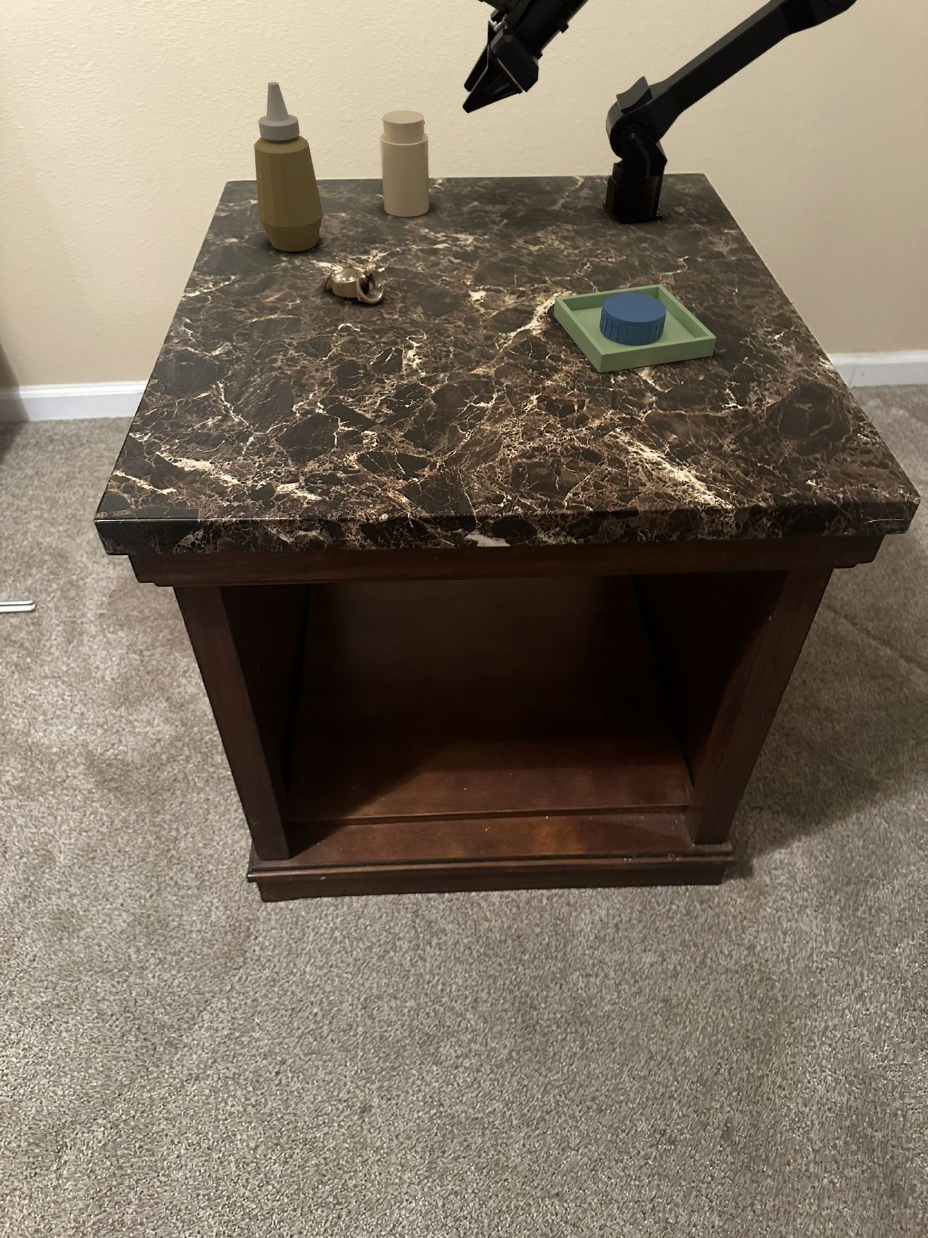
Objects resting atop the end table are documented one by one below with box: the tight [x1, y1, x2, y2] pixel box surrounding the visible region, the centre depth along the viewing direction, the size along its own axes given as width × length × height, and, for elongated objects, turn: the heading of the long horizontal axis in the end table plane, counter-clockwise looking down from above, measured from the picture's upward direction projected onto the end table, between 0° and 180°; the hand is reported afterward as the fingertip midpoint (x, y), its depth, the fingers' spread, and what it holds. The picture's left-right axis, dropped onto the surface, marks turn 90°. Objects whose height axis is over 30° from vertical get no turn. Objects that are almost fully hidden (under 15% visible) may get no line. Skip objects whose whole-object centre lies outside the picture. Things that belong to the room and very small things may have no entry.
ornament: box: [322, 256, 386, 305], centre depth 96 cm, size 8×7×4 cm
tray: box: [553, 283, 717, 374], centre depth 91 cm, size 13×13×2 cm
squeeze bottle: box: [253, 81, 324, 253], centre depth 101 cm, size 8×8×18 cm
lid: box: [599, 293, 666, 345], centre depth 90 cm, size 7×7×3 cm
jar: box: [379, 110, 430, 218], centre depth 112 cm, size 6×6×11 cm
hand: (465, 98), depth 106 cm, fingers open, 9 cm apart
